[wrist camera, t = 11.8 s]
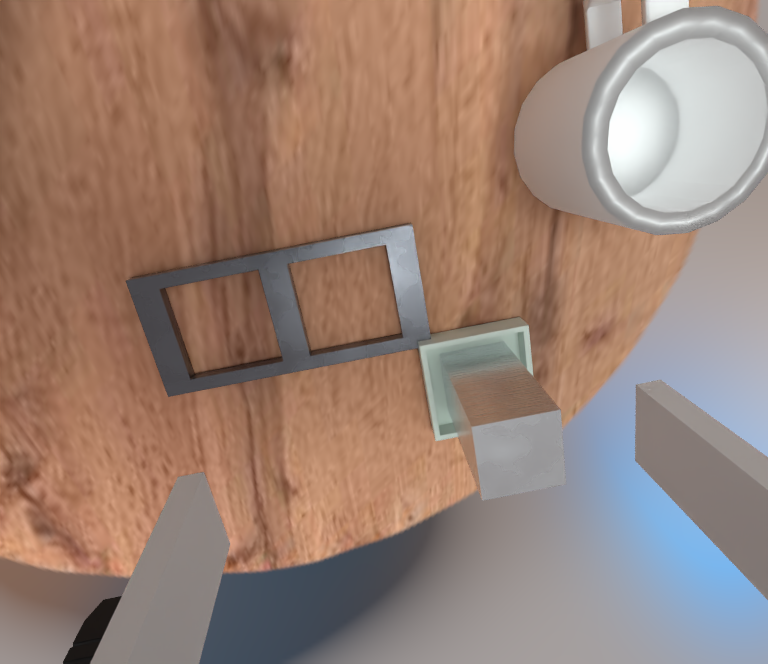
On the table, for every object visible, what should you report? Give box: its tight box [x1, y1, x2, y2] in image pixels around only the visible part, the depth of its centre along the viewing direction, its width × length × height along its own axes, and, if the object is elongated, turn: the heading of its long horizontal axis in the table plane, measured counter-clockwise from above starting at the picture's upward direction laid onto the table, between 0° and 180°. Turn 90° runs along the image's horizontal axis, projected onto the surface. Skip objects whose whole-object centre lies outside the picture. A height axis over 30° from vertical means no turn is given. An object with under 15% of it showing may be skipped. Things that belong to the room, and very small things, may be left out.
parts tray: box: [418, 317, 533, 441], centre depth 38 cm, size 8×8×2 cm
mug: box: [514, 0, 768, 235], centre depth 29 cm, size 14×10×11 cm
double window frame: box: [126, 223, 431, 397], centre depth 36 cm, size 20×9×1 cm, turn 101°
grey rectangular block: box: [439, 341, 566, 501], centre depth 34 cm, size 5×5×11 cm
